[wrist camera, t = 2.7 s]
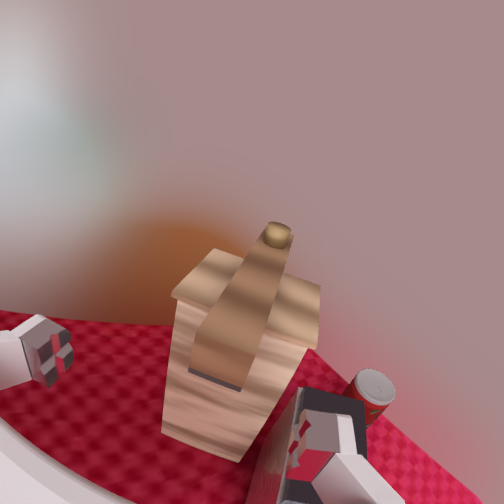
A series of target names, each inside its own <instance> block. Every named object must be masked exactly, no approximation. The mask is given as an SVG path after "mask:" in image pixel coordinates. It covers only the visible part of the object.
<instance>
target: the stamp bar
mask: <svg viewBox="0 0 504 504" xmlns="http://www.w3.org/2000/svg"><path fill="white" fill-rule="evenodd" d="M290 231H291V229H290V228H289V227H288V226H286V225H284V224H281V223H277V222H269V223H268V226H266V228H265V229H264V231H263V232H262V234H261V235H260V237H259V238H258V240H257V241H256V243H255V244H254V246H253V247H252V249H251V250H250V252H249V253H248V255H247V256H246V258H245V259H244V261H243V262H242V264H241V265H240V267H239V268H238V270H237V271H236V273H235V274H234V276H233V277H232V279H231V280H230V282H229V283H228V285H227V286H226V288H225V289H224V291H223V292H222V294H221V295H220V297H219V298H218V300H217V301H216V303H215V304H214V306H213V307H212V309H211V310H210V312H209V313H208V315H207V316H206V318H205V319H204V321H203V322H202V324H201V325H200V327H199V328H198V330H197V331H196V334H195V339H194V343H193V348H192V353H191V358H190V363H189V368H188V372H189V373H191V374H194V375H196V376H199V377H201V378H203V379H206V380H208V381H211V382H213V383H216V384H219V385H221V386H224V387H226V388H229V389H232V390H235V391H237V392H241V389H242V387H243V385H244V382H245V380H246V378H247V375H248V373H249V370H250V368H251V366H252V363H253V361H254V358H255V356H256V353H257V350H258V347H259V344H260V341H261V338H262V335H263V332H264V329H265V326H266V323H267V320H268V317H269V314H270V311H271V308H272V305H273V302H274V299H275V295H276V292H277V289H278V286H279V283H280V280H281V276H282V273H283V270H284V267H285V264H286V260H287V257H288V254H289V250H290V247H291V244H292V240H293V237H294V236H293V235H291V234H290Z"/></svg>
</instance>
